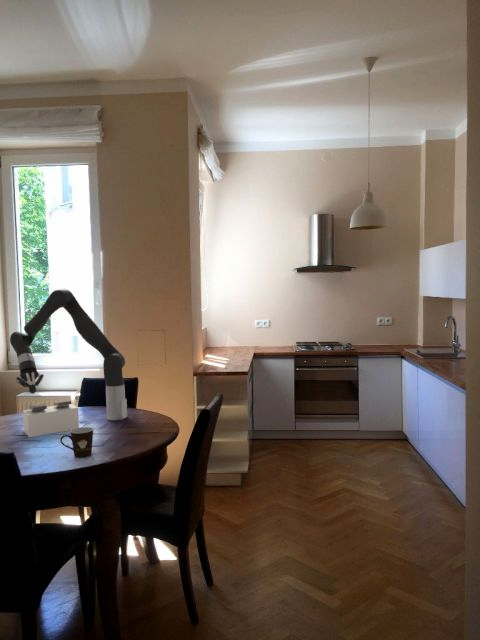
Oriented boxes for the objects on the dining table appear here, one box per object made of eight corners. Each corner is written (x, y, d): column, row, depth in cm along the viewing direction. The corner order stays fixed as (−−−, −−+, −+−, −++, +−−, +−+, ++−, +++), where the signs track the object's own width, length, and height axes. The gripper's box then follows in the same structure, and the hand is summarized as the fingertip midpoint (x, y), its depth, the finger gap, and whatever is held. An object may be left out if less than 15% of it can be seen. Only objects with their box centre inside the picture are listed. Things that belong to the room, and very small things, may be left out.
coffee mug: (97, 451, 189) (96, 427, 189) (89, 459, 181) (87, 433, 180) (70, 451, 190) (69, 427, 190) (59, 458, 182) (58, 433, 181)
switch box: (71, 423, 234) (71, 401, 233) (78, 428, 224) (77, 406, 224) (23, 431, 221) (22, 408, 221) (29, 437, 212) (27, 413, 211)
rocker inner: (67, 403, 230) (66, 400, 230) (71, 404, 224) (71, 400, 224) (54, 405, 227) (53, 402, 227) (58, 406, 220) (57, 402, 220)
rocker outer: (43, 406, 224) (42, 403, 224) (46, 408, 217) (46, 405, 217) (29, 408, 221) (29, 405, 221) (32, 410, 214) (32, 407, 214)
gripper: (13, 361, 229) (19, 389, 219) (41, 358, 236) (48, 386, 227) (11, 370, 233) (17, 399, 224) (39, 367, 241) (46, 395, 232)
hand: (33, 392), depth 226 cm, fingers closed
